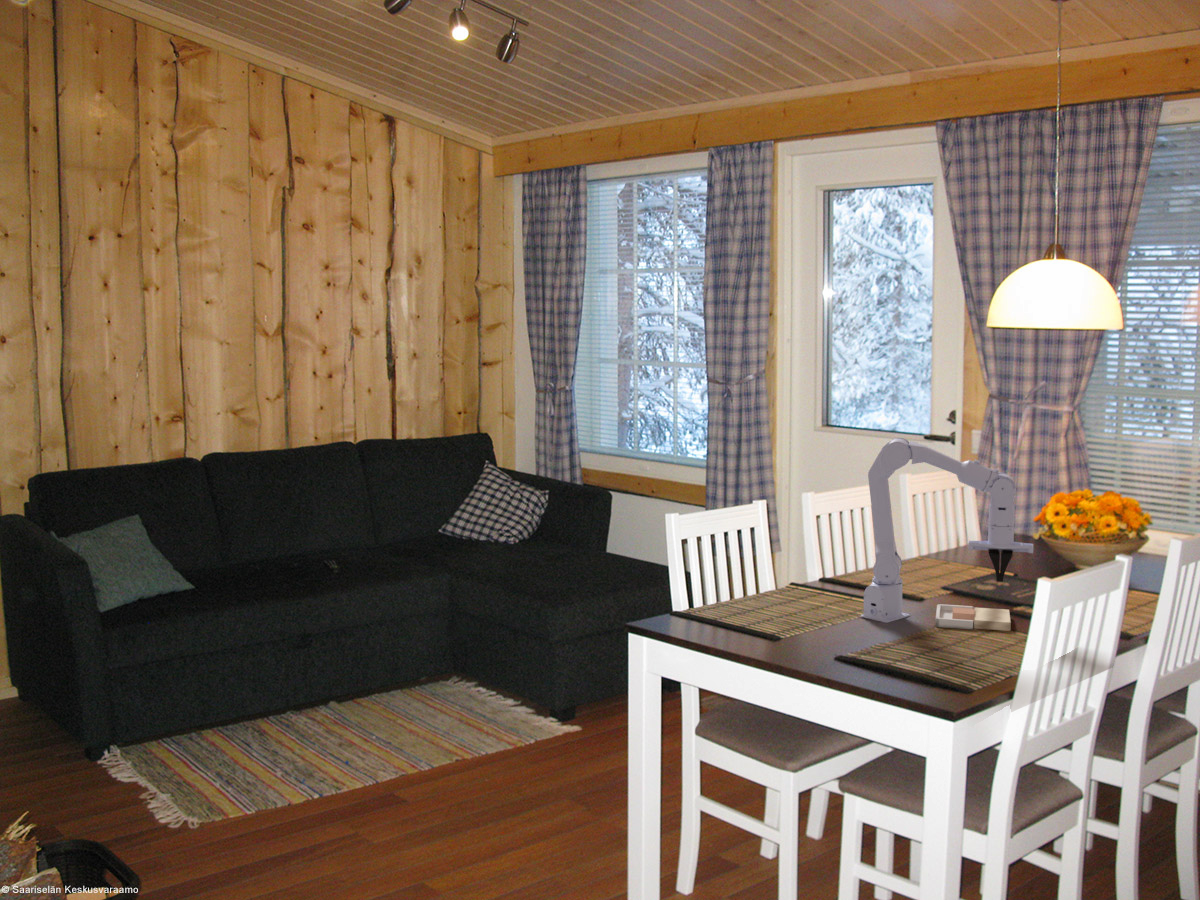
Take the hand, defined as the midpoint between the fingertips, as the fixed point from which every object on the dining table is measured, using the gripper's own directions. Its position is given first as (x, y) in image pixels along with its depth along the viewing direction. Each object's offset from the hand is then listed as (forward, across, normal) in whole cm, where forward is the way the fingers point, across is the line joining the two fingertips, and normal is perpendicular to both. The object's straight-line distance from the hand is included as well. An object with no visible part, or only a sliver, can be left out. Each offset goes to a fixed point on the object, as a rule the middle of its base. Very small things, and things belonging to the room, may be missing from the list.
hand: (999, 580), depth 264 cm
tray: (+10, +10, 0) cm, 14 cm away
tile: (+10, +8, 0) cm, 13 cm away
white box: (+10, +2, 0) cm, 11 cm away
